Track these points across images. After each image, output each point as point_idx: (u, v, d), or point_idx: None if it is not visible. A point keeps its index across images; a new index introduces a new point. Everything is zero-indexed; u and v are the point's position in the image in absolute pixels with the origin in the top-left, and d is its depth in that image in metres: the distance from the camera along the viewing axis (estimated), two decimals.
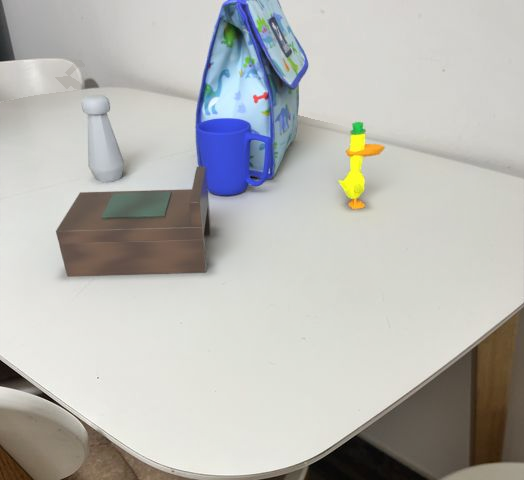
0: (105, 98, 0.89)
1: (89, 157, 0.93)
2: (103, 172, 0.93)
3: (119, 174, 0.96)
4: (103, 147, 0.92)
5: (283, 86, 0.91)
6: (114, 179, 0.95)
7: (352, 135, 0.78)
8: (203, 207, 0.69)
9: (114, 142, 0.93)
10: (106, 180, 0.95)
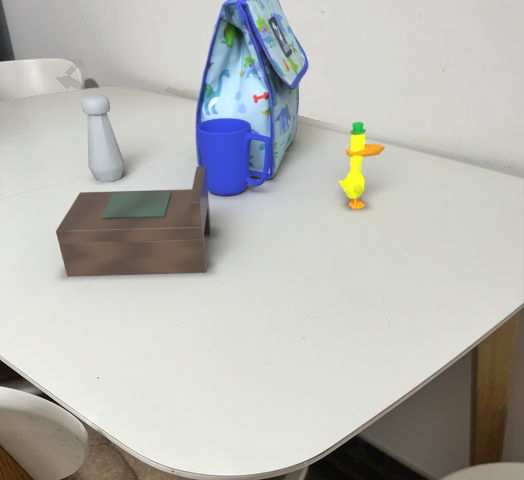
0: (105, 98, 0.89)
1: (89, 157, 0.93)
2: (103, 172, 0.93)
3: (119, 174, 0.96)
4: (103, 147, 0.92)
5: (283, 85, 0.91)
6: (114, 179, 0.95)
7: (352, 135, 0.78)
8: (203, 207, 0.69)
9: (114, 142, 0.93)
10: (106, 180, 0.95)
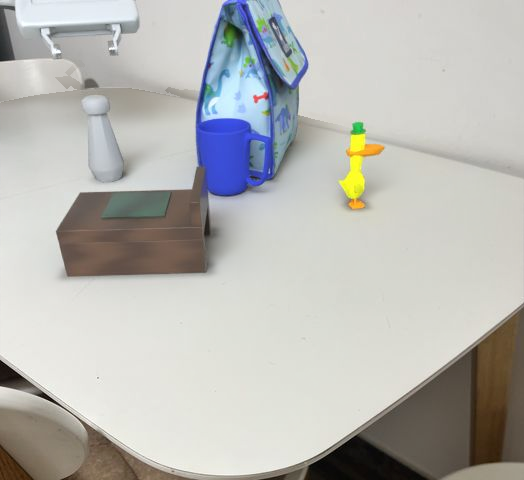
0: (105, 98, 0.89)
1: (89, 157, 0.93)
2: (103, 172, 0.93)
3: (119, 174, 0.96)
4: (103, 147, 0.92)
5: (283, 86, 0.91)
6: (114, 179, 0.95)
7: (352, 135, 0.78)
8: (203, 207, 0.69)
9: (114, 142, 0.93)
10: (106, 180, 0.95)
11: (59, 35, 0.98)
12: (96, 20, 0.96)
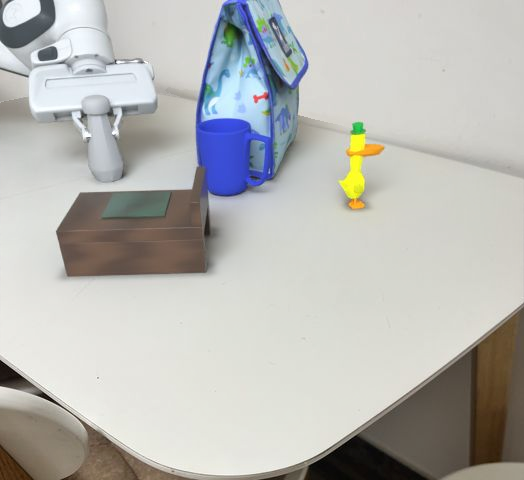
0: (105, 98, 0.89)
1: (89, 157, 0.93)
2: (103, 172, 0.93)
3: (119, 174, 0.96)
4: (103, 147, 0.92)
5: (283, 86, 0.91)
6: (114, 179, 0.95)
7: (352, 135, 0.78)
8: (203, 207, 0.69)
9: (114, 142, 0.93)
10: (106, 180, 0.95)
11: None
12: (112, 103, 0.92)
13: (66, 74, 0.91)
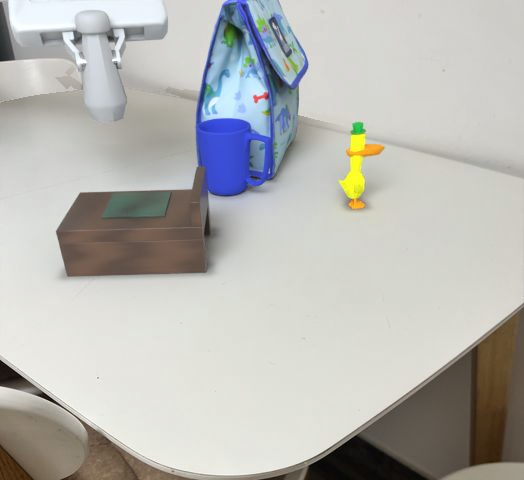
0: (104, 13, 0.72)
1: (84, 90, 0.76)
2: (102, 109, 0.76)
3: (121, 113, 0.78)
4: (102, 77, 0.74)
5: (283, 85, 0.91)
6: (115, 119, 0.78)
7: (352, 135, 0.78)
8: (203, 207, 0.69)
9: (115, 71, 0.75)
10: (105, 120, 0.78)
11: None
12: (113, 22, 0.75)
13: None
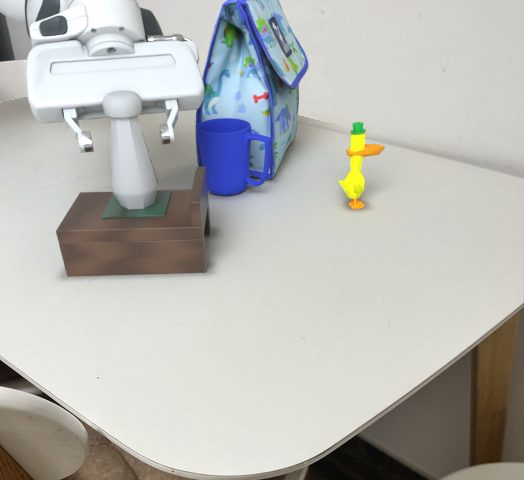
0: (136, 95, 0.64)
1: (112, 176, 0.68)
2: (132, 197, 0.68)
3: (152, 198, 0.70)
4: (132, 163, 0.66)
5: (283, 85, 0.91)
6: (145, 205, 0.70)
7: (352, 135, 0.78)
8: (203, 207, 0.69)
9: (146, 156, 0.67)
10: (134, 207, 0.70)
11: (89, 116, 0.68)
12: (143, 96, 0.66)
13: (79, 55, 0.65)
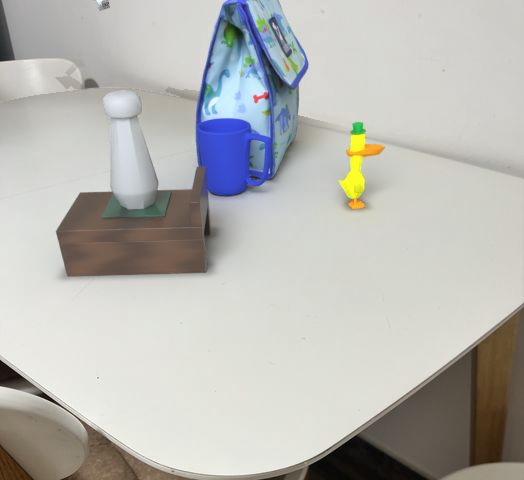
0: (136, 95, 0.64)
1: (112, 176, 0.68)
2: (132, 197, 0.68)
3: (152, 198, 0.70)
4: (132, 163, 0.66)
5: (283, 85, 0.91)
6: (145, 205, 0.70)
7: (352, 135, 0.78)
8: (203, 207, 0.69)
9: (146, 156, 0.67)
10: (134, 207, 0.70)
11: None
12: None
13: None
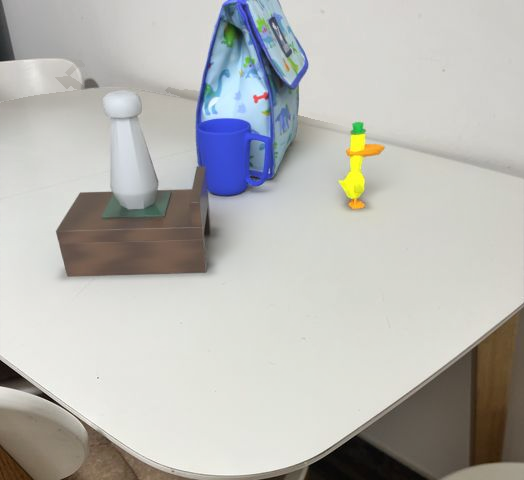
0: (136, 95, 0.64)
1: (112, 176, 0.68)
2: (132, 197, 0.68)
3: (152, 198, 0.70)
4: (132, 163, 0.66)
5: (283, 86, 0.91)
6: (145, 205, 0.70)
7: (352, 135, 0.78)
8: (203, 207, 0.69)
9: (146, 156, 0.67)
10: (134, 207, 0.70)
11: None
12: None
13: None
